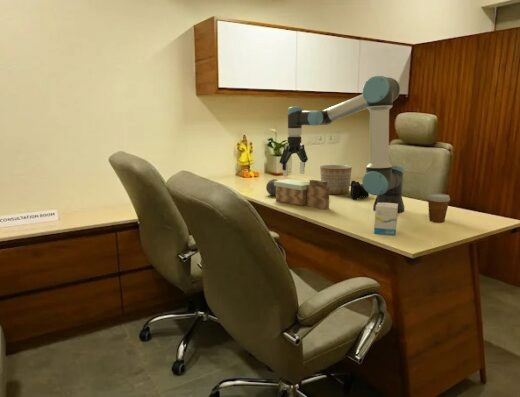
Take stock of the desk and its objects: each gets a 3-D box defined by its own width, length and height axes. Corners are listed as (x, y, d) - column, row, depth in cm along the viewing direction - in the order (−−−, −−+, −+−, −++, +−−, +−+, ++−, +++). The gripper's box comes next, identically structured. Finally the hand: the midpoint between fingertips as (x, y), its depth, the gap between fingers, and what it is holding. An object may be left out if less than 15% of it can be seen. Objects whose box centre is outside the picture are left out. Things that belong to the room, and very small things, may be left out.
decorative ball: (264, 196, 239) (264, 180, 237) (268, 193, 248) (268, 177, 246) (280, 197, 236) (280, 180, 234) (284, 194, 245) (284, 178, 243)
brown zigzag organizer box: (332, 207, 208) (333, 186, 205) (321, 210, 202) (322, 188, 200) (286, 198, 232) (286, 179, 230) (275, 200, 226) (275, 181, 224)
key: (327, 186, 204) (327, 181, 204) (324, 186, 203) (324, 182, 202) (312, 184, 211) (312, 179, 211) (309, 184, 210) (309, 180, 209)
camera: (369, 200, 225) (370, 183, 223) (350, 200, 227) (351, 183, 225) (367, 196, 238) (368, 179, 236) (349, 195, 240) (349, 179, 238)
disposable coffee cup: (421, 221, 180) (423, 195, 177) (430, 217, 186) (432, 192, 184) (443, 225, 173) (445, 198, 171) (451, 221, 180) (453, 195, 177)
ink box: (395, 235, 159) (397, 207, 156) (373, 233, 162) (375, 205, 159) (396, 230, 166) (398, 203, 164) (375, 228, 169) (377, 201, 167)
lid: (315, 187, 216) (315, 183, 216) (301, 190, 209) (301, 185, 208) (287, 183, 231) (287, 179, 231) (273, 185, 224) (273, 181, 224)
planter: (317, 194, 244) (317, 168, 240) (322, 189, 262) (323, 164, 258) (348, 196, 238) (349, 169, 234) (352, 190, 255) (353, 165, 252)
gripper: (304, 134, 225) (303, 171, 230) (273, 136, 209) (272, 176, 214) (314, 135, 220) (313, 173, 224) (283, 137, 204) (282, 177, 208)
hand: (293, 174), depth 219 cm, fingers open, 13 cm apart
